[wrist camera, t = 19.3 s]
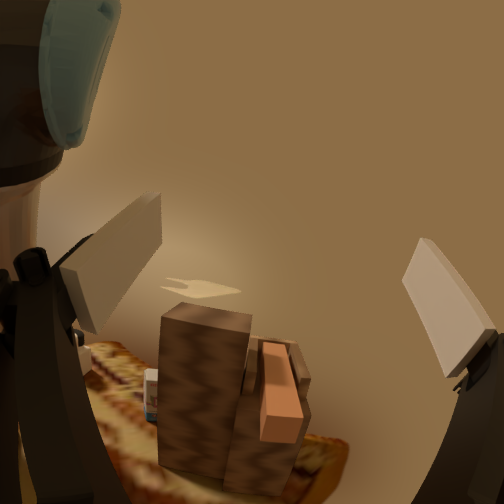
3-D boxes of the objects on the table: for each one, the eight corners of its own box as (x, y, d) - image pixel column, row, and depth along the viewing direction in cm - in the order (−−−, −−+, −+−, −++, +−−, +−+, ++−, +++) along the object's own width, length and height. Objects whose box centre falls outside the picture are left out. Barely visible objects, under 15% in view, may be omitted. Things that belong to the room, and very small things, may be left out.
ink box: (145, 422, 47) (145, 379, 47) (143, 409, 51) (143, 367, 51) (183, 422, 50) (186, 380, 50) (178, 410, 55) (181, 369, 55)
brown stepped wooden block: (153, 474, 32) (153, 321, 31) (181, 415, 53) (193, 294, 52) (280, 496, 31) (330, 350, 31) (275, 431, 52) (304, 312, 52)
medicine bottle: (73, 361, 61) (71, 324, 61) (92, 369, 61) (90, 331, 61) (60, 370, 54) (56, 331, 54) (79, 379, 54) (76, 339, 54)
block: (260, 440, 25) (266, 415, 25) (259, 360, 49) (263, 341, 49) (295, 443, 25) (303, 417, 24) (280, 363, 49) (284, 344, 48)
